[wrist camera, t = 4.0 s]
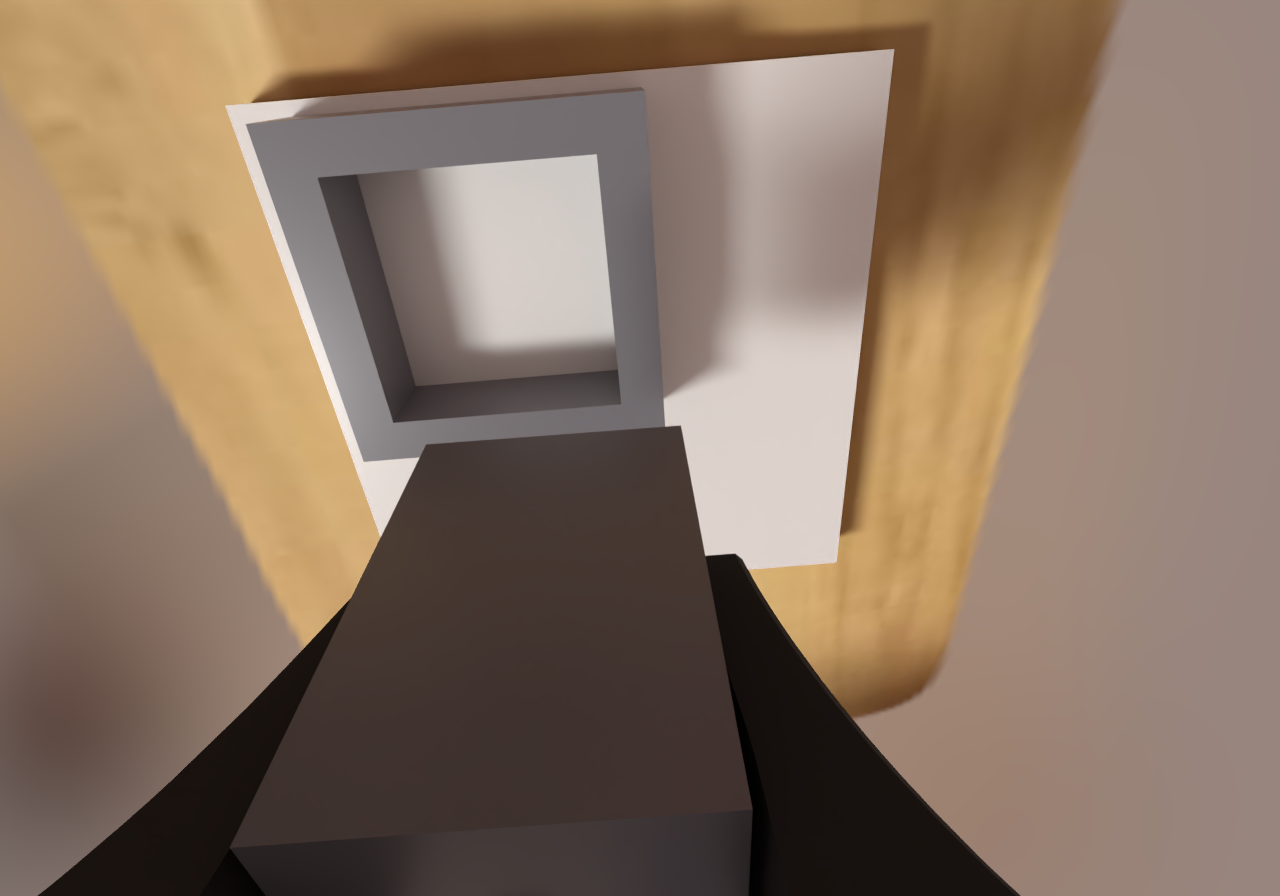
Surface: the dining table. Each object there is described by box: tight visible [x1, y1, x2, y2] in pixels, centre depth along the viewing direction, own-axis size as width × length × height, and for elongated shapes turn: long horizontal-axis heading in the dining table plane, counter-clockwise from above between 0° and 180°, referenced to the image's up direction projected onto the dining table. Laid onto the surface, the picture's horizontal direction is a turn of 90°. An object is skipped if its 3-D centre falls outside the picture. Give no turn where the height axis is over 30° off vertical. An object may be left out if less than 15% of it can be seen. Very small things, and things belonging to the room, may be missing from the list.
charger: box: [230, 425, 753, 896], centre depth 8 cm, size 4×4×6 cm
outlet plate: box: [226, 49, 894, 570], centre depth 17 cm, size 14×14×3 cm
